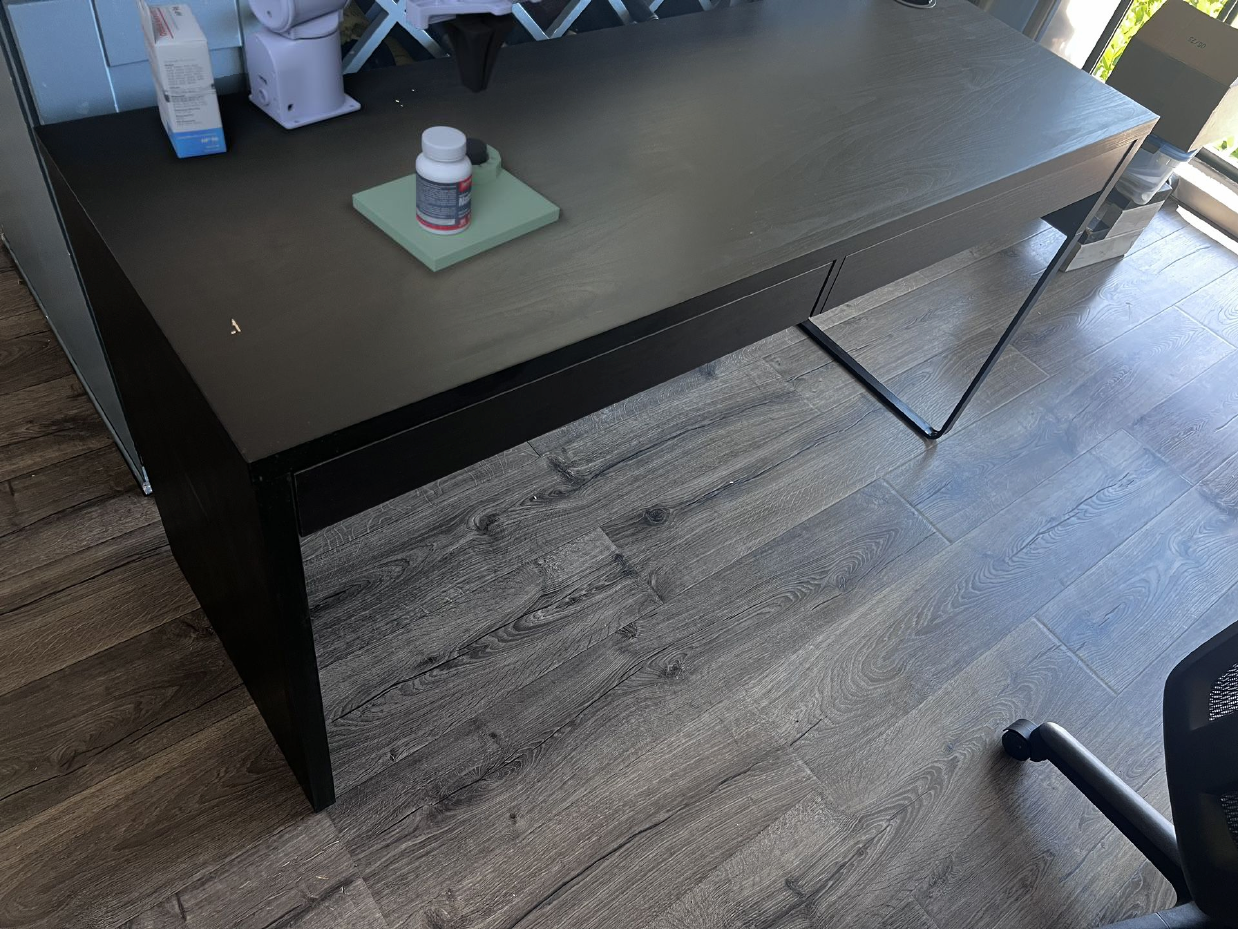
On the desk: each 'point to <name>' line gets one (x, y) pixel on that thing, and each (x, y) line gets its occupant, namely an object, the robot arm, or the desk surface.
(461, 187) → the pill bottle
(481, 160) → the button
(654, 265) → the desk surface
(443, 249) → the green flat slab
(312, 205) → the desk surface
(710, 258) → the desk surface
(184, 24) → the ink box
